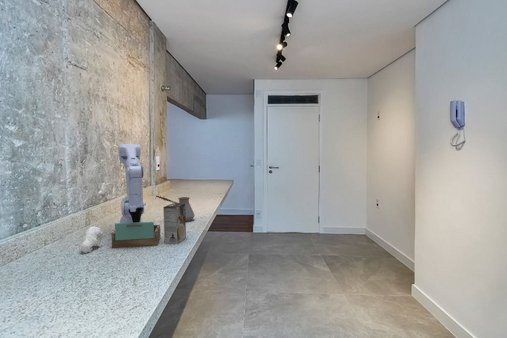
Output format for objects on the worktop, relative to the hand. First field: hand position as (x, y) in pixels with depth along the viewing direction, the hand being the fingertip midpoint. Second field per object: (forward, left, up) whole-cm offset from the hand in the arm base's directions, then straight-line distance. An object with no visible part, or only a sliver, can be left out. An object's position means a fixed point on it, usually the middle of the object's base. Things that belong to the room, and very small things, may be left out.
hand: (136, 225), depth 136 cm
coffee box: (+13, +10, -8) cm, 18 cm away
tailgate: (+3, -4, -5) cm, 7 cm away
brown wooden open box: (-1, +1, -8) cm, 8 cm away
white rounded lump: (-11, -14, -8) cm, 20 cm away
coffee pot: (-11, +40, -8) cm, 42 cm away
